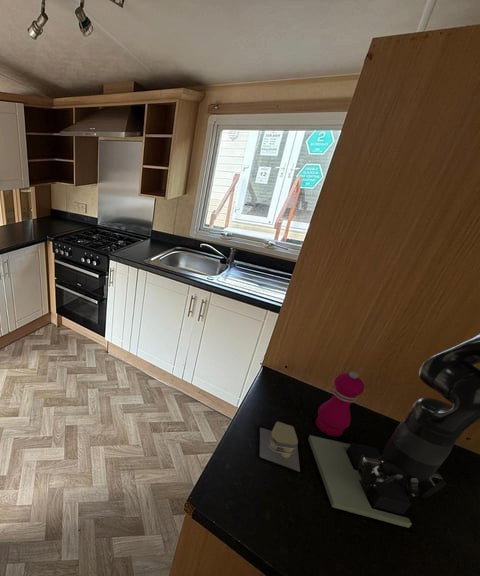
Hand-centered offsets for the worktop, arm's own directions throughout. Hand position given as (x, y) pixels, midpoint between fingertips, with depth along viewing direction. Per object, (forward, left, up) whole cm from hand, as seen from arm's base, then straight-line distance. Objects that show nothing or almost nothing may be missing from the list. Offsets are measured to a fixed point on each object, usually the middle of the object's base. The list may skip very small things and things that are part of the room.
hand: (382, 497), depth 69 cm
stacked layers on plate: (+19, -8, -2) cm, 21 cm away
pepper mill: (+4, -19, -2) cm, 20 cm away
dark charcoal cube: (0, -9, -2) cm, 9 cm away
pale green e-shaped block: (+4, -4, -2) cm, 6 cm away
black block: (0, 0, -1) cm, 1 cm away
